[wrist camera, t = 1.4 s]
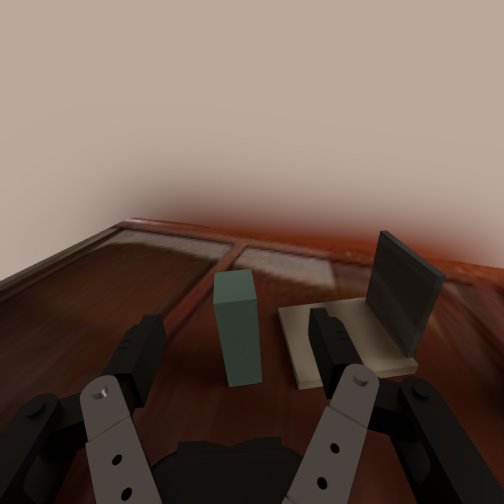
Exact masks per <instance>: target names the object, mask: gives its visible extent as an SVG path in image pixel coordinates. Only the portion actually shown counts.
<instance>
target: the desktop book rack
mask: <svg viewBox="0 0 504 504" xmlns="http://www.w3.org/2000/svg"><path fill="white" fill-rule="evenodd" d="M445 277H446V275H445V274H443V273H442V272H441V271H439V270H438V269H437V268H435V267H434V266H433V265H431V264H430V263H429V262H427V261H426V260H425V259H424V258H422V257H421V256H420V255H418V254H417V253H416V252H414V251H413V250H412V249H410V248H409V247H408V246H406V245H405V244H404V243H402V242H401V241H400V240H398V239H397V238H395V237H394V236H393V235H392V234H390V233H389V232H388V231H380V235H379V240H378V244H377V249H376V254H375V258H374V263H373V267H372V272H371V277H370V281H369V286H368V291H367V295H366V297H364V298H356V299H347V300H339V301H331V302H323V303H315V304H307V305H298V306H290V307H282V308H278V315H279V319H280V322H281V326H282V330H283V334H284V337H285V341H286V345H287V348H288V352H289V356H290V359H291V363H292V367H293V370H294V374H295V378H296V381H297V385H298V389H299V390H301V389H308V388H315V387H322V386H323V384H322V381H321V378H320V374H319V371H318V368H317V365H316V361H315V358H314V355H313V352H312V348H311V345H310V342H309V337H308V324H309V314H310V308H320V307H325V308H326V310H327V312H328V314H329V317H337V318H338V319H339V320H340V321H341V322H342V323H343V324H344V326H345V328H346V330H347V333H348V334H349V336H350V338H351V340H352V342H353V344H354V346H355V348H356V350H357V352H358V354H359V356H360V358H361V360H362V362H363V364H364V365H365V366H366V367H368V368H369V369H371V370H372V371H373V372H374V373H375V374H376V376H377V377H379V378H386V377H393V376H400V375H407V374H414V373H416V370H417V368H418V366H419V365H418V364H417V362H416V361H415V360H414V359H413V357H414V354H415V352H416V349H417V347H418V344H419V342H420V339H421V337H422V334H423V332H424V329H425V327H426V324H427V322H428V319H429V317H430V314H431V312H432V309H433V307H434V305H435V302H436V300H437V297H438V295H439V292H440V290H441V287H442V285H443V282H444V280H445Z"/></svg>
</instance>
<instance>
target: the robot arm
mask: <svg viewBox="0 0 504 504" xmlns="http://www.w3.org/2000/svg"><path fill="white" fill-rule="evenodd" d="M308 337H309V342H310V345H311V348H312V352H313V355H314V358H315V361H316V365H317V368H318V371H319V374H320V378H321V381H322V384H323V387H324V391H325V394H326V397H327V399H332V400H331V402H330V404H329V405H327V406H326V408H325V410H324V412H323V415H322V417H321V419H320V422H319V424H318V426H317V428H316V431H315V433H314V435H313V437H312V440H311V442H310V444H309V446H308V449H307V451H306V453H305V456H302V455H301V454H300V453H298V452H297V451H295V450H293V449H291V448H289V447H286V446H283V445H281V438H280V437H265V438H254V439H251V440H248V441H246V442H243V443H240V444H237V445H234V446H231V447H226V446H223V445H219V444H215V443H211V442H207V441H188V442H179V443H178V448H177V451H176V452H173V453H171V454H169V455H167V456H166V457H164V458H163V459H161V460H160V461H158V462H157V463H156V464H155V465H154V466H153V467H151V465H150V462H149V460H148V457H147V454H146V452H145V449H144V446H143V444H142V441H141V438H140V436H139V433H138V430H137V428H136V425H135V422H134V420H133V417H132V416H133V413H134V410H135V408H144V406H145V403H146V401H147V398H148V395H149V392H150V389H151V386H152V383H153V380H154V377H155V375H156V372H157V369H158V366H159V363H160V360H161V357H162V354H163V352H164V349H165V345H166V334H165V330H164V326H163V322H162V318H161V315H160V314H146V315H144V316H143V318H142V320H141V322H140V324H139V325H133V326H132V327H131V328H130V329H129V330H128V331H127V332H126V333H125V335H124V337H123V339H122V340H121V343H120V344H119V346H118V348H117V350H116V351H115V353H114V355H113V356H112V358H111V360H110V362H109V364H108V365H107V367H106V369H105V371H104V373H103V374H102V376H101V377H99V378H97V379H95V380H93V381H92V382H90V383H89V384H88V385H87V386H86V387H85V388H84V390H83V391H82V392H81V393H78V394H75V395H72V396H69V397H66V398H63V399H60V400H58V398H57V396H56V395H55V394H52V393H46V394H42V395H39V396H37V397H35V398H33V399H31V400H30V401H28V402H27V403H25V404H24V405H23V406H22V407H21V408H20V409H19V410H18V412H17V413H16V414H15V416H14V417H13V418H12V420H11V421H10V423H9V424H8V425H7V427H6V428H5V430H4V431H3V432H2V434H1V435H0V504H53V503H54V501H55V498H56V496H57V494H58V492H59V490H60V487H61V485H62V483H63V481H64V479H65V476H66V474H67V472H68V470H69V468H70V465H71V463H72V461H73V459H74V457H75V454H76V452H77V450H79V449H81V448H84V447H86V451H87V456H88V462H89V467H90V472H91V477H92V482H93V488H94V493H95V498H96V503H97V504H347V501H348V497H349V494H350V490H351V487H352V483H353V479H354V476H355V472H356V468H357V465H358V461H359V458H360V454H361V450H362V447H363V443H364V440H365V436H366V432H367V429H370V430H373V431H377V432H380V433H384V434H387V435H389V436H390V439H391V441H392V443H393V446H394V448H395V451H396V453H397V455H398V458H399V460H400V463H401V465H402V467H403V470H404V472H405V475H406V477H407V480H408V482H409V484H410V487H411V489H412V492H413V494H414V496H415V499H416V501H417V504H504V490H503V488H502V487H501V485H500V484H499V482H498V481H497V479H496V478H495V476H494V475H493V473H492V472H491V470H490V469H489V467H488V466H487V464H486V463H485V461H484V460H483V458H482V457H481V455H480V454H479V452H478V451H477V449H476V448H475V446H474V445H473V443H472V442H471V440H470V439H469V437H468V436H467V434H466V433H465V431H464V430H463V428H462V427H461V425H460V424H459V422H458V421H457V419H456V418H455V416H454V415H453V413H452V412H451V410H450V409H449V407H448V406H447V404H446V403H445V401H444V400H443V398H442V397H441V395H440V394H439V392H438V391H437V390H436V389H435V388H434V387H433V386H432V385H431V384H430V383H428V382H427V381H425V380H423V379H420V378H417V377H406V378H404V379H403V380H402V382H401V383H397V382H393V381H389V380H385V379H382V378H379V377H377V376H376V374H375V373H374V372H373V371H372V370H371V369H369V368H368V367H366V366H365V365H364V364H363V362H362V360H361V358H360V356H359V354H358V352H357V350H356V348H355V346H354V344H353V342H352V340H351V338H350V336H349V334H348V333H347V330H346V328H345V326H344V324H343V323H342V322H341V321H340V320H339V319H338V318H337V317H329V314H328V312H327V310H326V308H325V307H320V308H310V314H309V324H308Z"/></svg>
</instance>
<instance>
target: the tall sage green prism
mask: <svg viewBox="0 0 504 504" xmlns="http://www.w3.org/2000/svg"><path fill="white" fill-rule="evenodd" d="M213 304H214V310H215V315H216V320H217V326H218V331H219V336H220V342H221V347H222V352H223V358H224V363H225V368H226V374H227V379H228V384H229V387H233V386H240V385H247V384H255V383H262V368H261V355H260V341H259V327H258V313H257V299H256V293H255V288H254V282H253V277H252V271H251V269H246V270H237V271H228V272H219V273H215V279H214V302H213Z"/></svg>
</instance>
